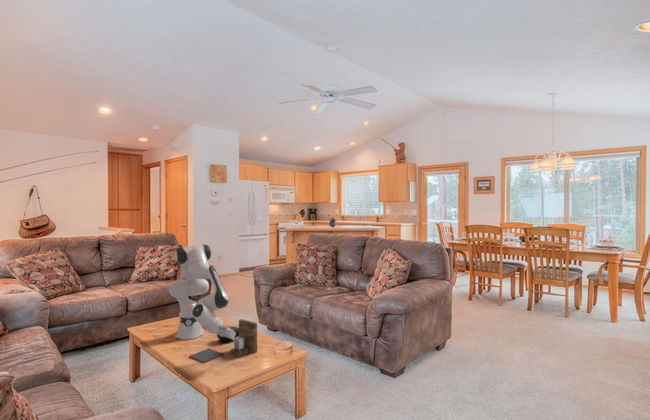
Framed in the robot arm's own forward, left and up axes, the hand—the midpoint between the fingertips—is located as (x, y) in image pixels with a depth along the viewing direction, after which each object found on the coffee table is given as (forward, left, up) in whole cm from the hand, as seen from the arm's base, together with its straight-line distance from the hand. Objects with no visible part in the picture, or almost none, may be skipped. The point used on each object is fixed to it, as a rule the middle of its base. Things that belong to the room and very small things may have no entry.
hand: (228, 337), depth 214 cm
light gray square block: (-5, +7, -13) cm, 15 cm away
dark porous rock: (-31, +2, -13) cm, 34 cm away
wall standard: (-7, +8, -13) cm, 17 cm away
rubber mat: (-7, -12, -13) cm, 19 cm away
